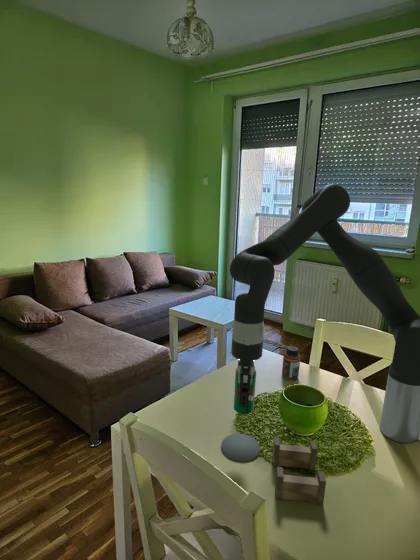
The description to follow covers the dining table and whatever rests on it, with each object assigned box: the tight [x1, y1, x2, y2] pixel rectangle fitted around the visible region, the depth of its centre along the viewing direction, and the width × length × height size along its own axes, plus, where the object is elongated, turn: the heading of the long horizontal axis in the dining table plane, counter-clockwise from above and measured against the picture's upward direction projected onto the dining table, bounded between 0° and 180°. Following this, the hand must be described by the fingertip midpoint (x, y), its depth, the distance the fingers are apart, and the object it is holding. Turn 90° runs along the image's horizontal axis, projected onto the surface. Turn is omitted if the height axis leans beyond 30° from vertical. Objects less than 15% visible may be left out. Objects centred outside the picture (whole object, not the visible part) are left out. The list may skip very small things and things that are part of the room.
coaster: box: [221, 433, 261, 463], centre depth 94 cm, size 10×10×1 cm
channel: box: [271, 436, 327, 506], centre depth 83 cm, size 10×13×6 cm
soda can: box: [233, 365, 257, 416], centre depth 90 cm, size 5×5×12 cm
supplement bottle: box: [281, 345, 301, 381], centre depth 131 cm, size 6×6×11 cm
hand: (243, 399), depth 91 cm, fingers closed on soda can, 5 cm apart
